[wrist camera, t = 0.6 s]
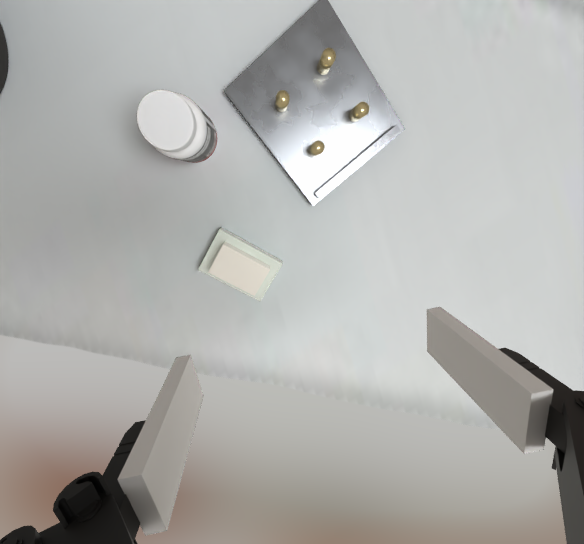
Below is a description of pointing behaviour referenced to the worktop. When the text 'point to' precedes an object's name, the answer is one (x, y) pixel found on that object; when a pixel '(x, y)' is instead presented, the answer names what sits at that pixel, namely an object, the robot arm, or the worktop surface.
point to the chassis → (316, 103)
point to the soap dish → (247, 248)
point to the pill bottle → (176, 126)
